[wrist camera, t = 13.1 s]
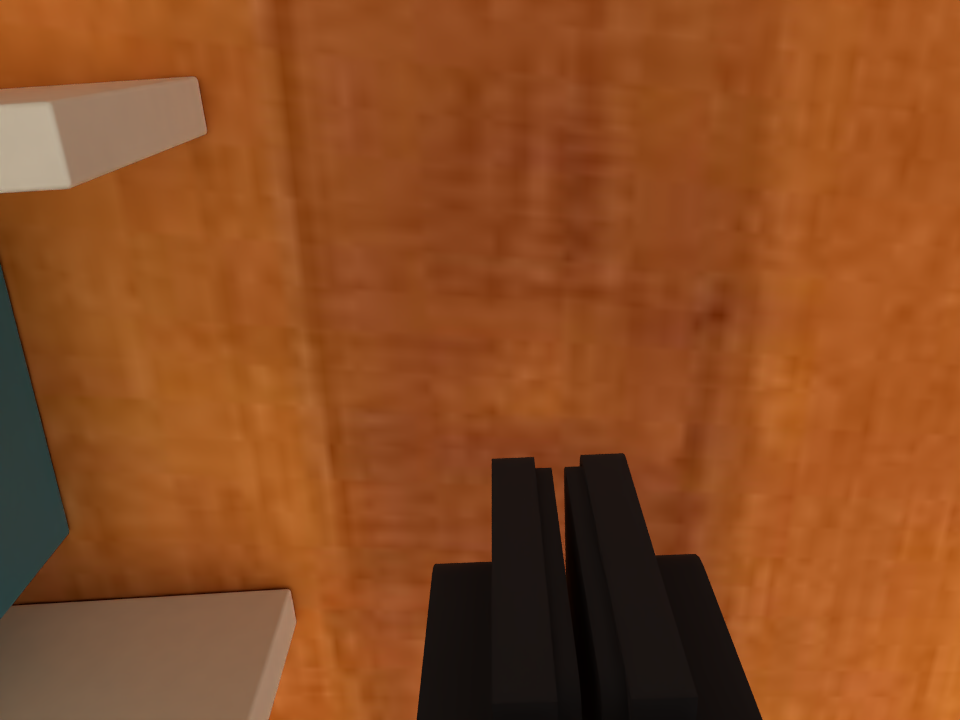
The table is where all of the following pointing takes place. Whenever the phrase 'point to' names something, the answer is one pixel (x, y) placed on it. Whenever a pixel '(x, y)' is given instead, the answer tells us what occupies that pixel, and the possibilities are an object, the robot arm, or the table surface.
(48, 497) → the box
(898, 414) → the table surface
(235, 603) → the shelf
